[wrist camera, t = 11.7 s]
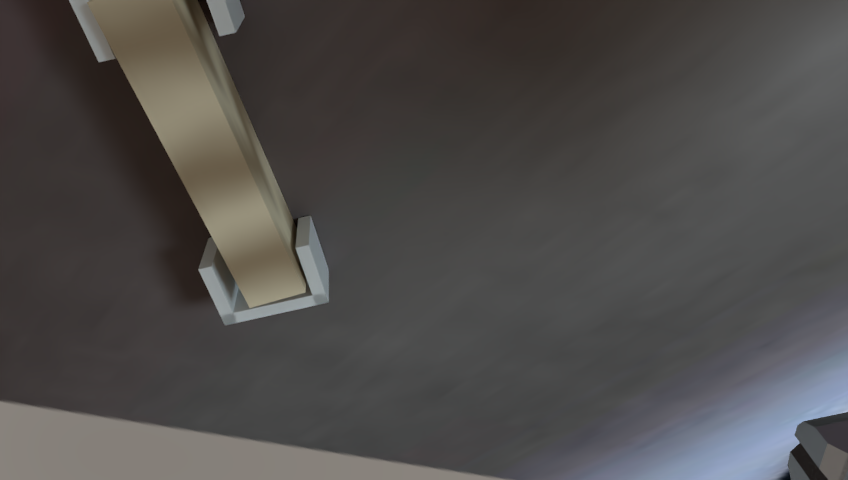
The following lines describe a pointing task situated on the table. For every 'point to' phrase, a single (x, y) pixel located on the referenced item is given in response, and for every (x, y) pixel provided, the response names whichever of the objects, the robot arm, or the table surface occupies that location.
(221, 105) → the tan wooden beam
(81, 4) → the cap
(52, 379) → the table surface
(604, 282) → the table surface
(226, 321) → the cap
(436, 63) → the table surface
